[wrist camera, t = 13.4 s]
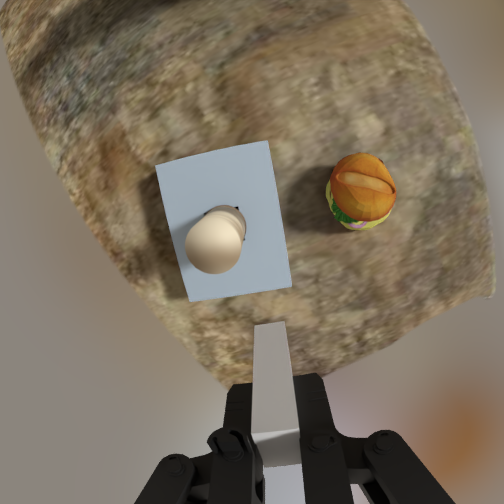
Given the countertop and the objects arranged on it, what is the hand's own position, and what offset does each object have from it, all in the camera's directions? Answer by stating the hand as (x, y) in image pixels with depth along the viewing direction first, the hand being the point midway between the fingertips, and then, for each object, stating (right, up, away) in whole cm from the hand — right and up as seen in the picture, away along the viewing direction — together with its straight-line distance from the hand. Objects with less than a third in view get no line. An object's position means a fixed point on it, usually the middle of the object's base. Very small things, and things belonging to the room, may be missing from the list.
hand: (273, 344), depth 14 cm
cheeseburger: (+14, +14, +25) cm, 32 cm away
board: (-5, +10, +27) cm, 29 cm away
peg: (-5, +9, +26) cm, 28 cm away
